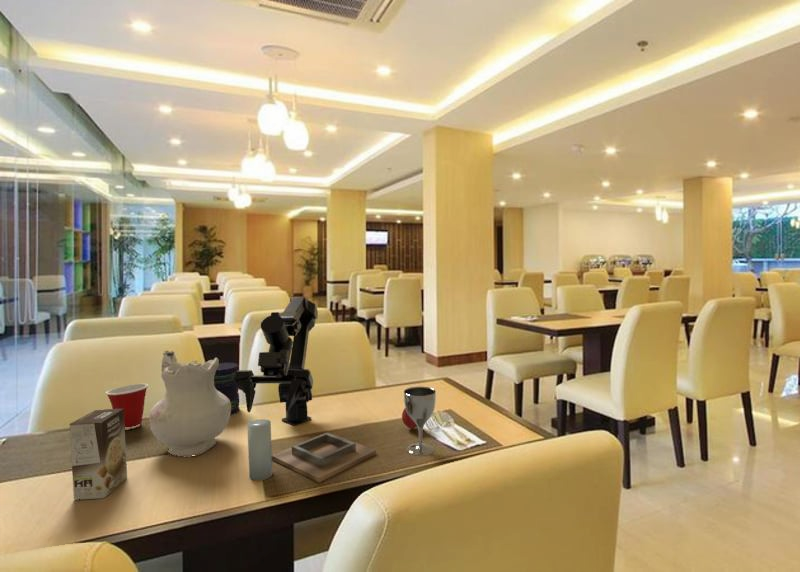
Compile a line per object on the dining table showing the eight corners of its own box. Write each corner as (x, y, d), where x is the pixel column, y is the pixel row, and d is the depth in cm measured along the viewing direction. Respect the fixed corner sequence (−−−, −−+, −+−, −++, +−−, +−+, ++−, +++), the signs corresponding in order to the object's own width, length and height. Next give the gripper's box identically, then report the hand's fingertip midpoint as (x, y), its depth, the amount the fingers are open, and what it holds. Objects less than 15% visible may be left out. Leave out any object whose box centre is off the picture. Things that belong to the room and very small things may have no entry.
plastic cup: (135, 418, 140) (133, 380, 139) (158, 423, 135) (156, 384, 135) (99, 430, 130) (96, 390, 130) (122, 436, 126) (120, 394, 125)
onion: (420, 433, 124) (420, 405, 123) (400, 432, 125) (399, 404, 124) (424, 426, 129) (423, 398, 129) (404, 424, 131) (403, 397, 130)
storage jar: (245, 407, 148) (244, 362, 147) (228, 418, 139) (226, 370, 138) (218, 406, 150) (216, 362, 149) (200, 416, 141) (197, 369, 140)
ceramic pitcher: (128, 459, 114) (115, 364, 110) (188, 425, 132) (179, 343, 128) (195, 472, 106) (184, 370, 103) (249, 434, 125) (241, 347, 121)
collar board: (271, 459, 110) (271, 447, 109) (328, 436, 123) (328, 425, 123) (318, 482, 98) (318, 469, 98) (376, 454, 112) (375, 442, 111)
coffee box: (105, 498, 93) (100, 422, 92) (72, 500, 92) (67, 424, 91) (128, 477, 102) (124, 407, 101) (98, 478, 102) (94, 409, 101)
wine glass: (439, 444, 116) (439, 387, 115) (431, 458, 109) (430, 397, 108) (410, 441, 119) (409, 385, 118) (400, 454, 111) (399, 394, 110)
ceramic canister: (245, 476, 102) (242, 424, 101) (264, 467, 105) (262, 417, 105) (257, 482, 98) (255, 429, 98) (277, 474, 102) (275, 422, 101)
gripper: (234, 338, 112) (217, 395, 102) (309, 337, 112) (300, 394, 101) (246, 362, 120) (232, 417, 110) (316, 361, 120) (308, 416, 110)
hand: (267, 411), depth 107 cm, fingers open, 9 cm apart
